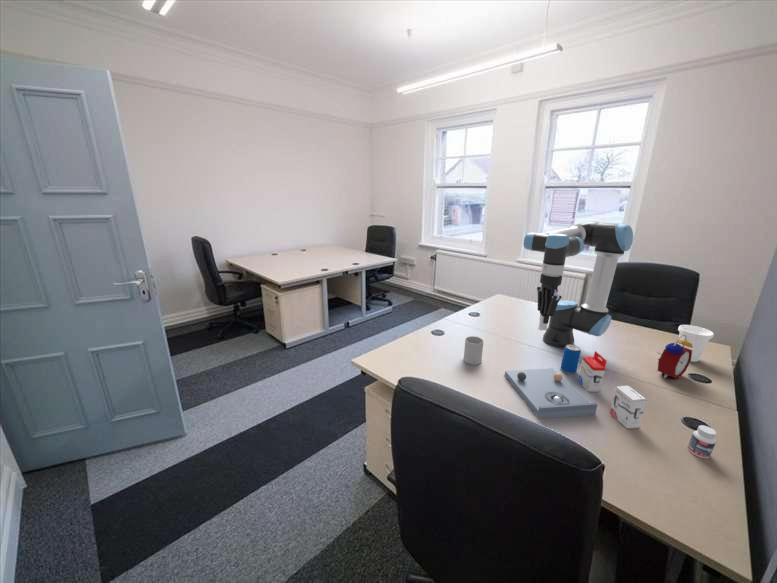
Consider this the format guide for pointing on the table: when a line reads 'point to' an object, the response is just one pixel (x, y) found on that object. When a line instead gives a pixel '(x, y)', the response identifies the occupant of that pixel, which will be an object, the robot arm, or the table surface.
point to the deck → (549, 394)
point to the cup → (695, 339)
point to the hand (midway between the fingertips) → (542, 329)
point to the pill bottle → (702, 441)
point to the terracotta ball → (558, 377)
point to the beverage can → (570, 359)
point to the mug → (473, 350)
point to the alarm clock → (675, 358)
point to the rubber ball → (521, 376)
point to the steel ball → (557, 399)
